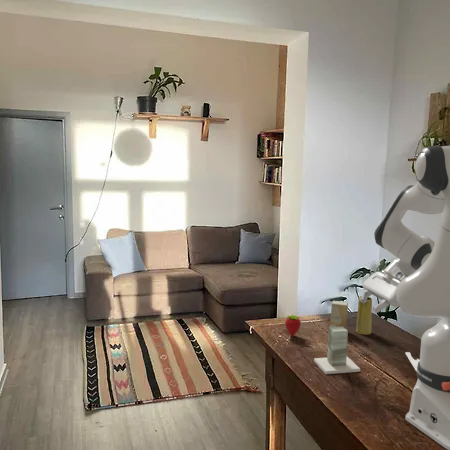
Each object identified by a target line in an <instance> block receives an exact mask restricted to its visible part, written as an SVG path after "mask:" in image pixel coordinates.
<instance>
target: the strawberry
mask: <svg viewBox="0 0 450 450" xmlns="http://www.w3.org/2000/svg"><path fill="white" fill-rule="evenodd" d="M301 325H302V324H301V317H299V316H297V315H295V313H293V314H291V315H288V316H287V317H286V319H285V328H286V330H287V332H288V333H289V335H290V337H292V338H293V337H294V336H296V334H297V332H299V330H300V327H301Z"/></svg>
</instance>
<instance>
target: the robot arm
mask: <svg viewBox="0 0 450 450" xmlns="http://www.w3.org/2000/svg"><path fill="white" fill-rule="evenodd" d="M414 172H415V174H414V175H415V178H416V181H417V182H415V185H413V184H412V185H411V184H410V185H408V186H407V187H405V188H403V190H402V191H401V192H400V193H399V194H398V195H397V197H396V199H395V200H394V201H393V203H392V205H391V207H390V208H389V210H388V211H387V213H386V215H385V216H384V218H383V220H382V221H381V222H380V224H378V226H377V227H376V229H375V230H374V241H375V244H376V245H378V246H380V247H381V248H383V249H385V250H386V251H388V252H389V253H390V254H392V255H393V256H395V257H396V258H395V259H394V260H392V261H391V262H390V263H389V264H388V265H387V266H386V267H385V268H384V269H383V270H380V271H375V272H374V273H372V274H371V275H370V276H369V277H367V278H366V279H365V281H363V282H362V284H361V286H362V287H361V288H363V289H364V291H363V293H362V295H361V296H362V297H361V298H360V299H359V300H360V301H361V302H362V303H363V304H365V303H366V302H367V298H368V297H371V296H372V295H373V296H374V297H375V298H378V299H379V300H381V302H379V303H378V304H375V305H373V306H372V310H373V311H375V312H376V313H379V312H381V310H383V309H385V308H388V307H389V306H390V305H391V306H392V307H393V308H400V309H401V310H402V311H403V313H404V314H406V315H409V316H413V317H419V318H423V319H424V318H425V319H426V318H427V319H429V318H430V319H432V318H433V319H435V318H437V319H438V318H439V319H440V320H438V322H437V323H436V324H435V325H434V326H432V327H430V328H428V329H427V330H426V331H425V332H423V334H422V336H421V339H420V349H419V351H420V354H419V360H420V361H419V362H418V367H417V372H416V376H417V380H416V383H415V385H414V387H413V389H412V394H411V398H410V399H411V400H410V405H409V411H408V412H407V413H406V414H405V418H404V419H405V420H406V421H407V422H408V423H410V424H411V425H412V426H413V427H415V428H417V429H418V430H419V431H420V432H422V433H424V434H425V435H426V436H428V437H429V438H430V439H431V440H432V441H433V440H434V441H435V442H436V443H437V444H439V445H440V446H442V447H443V448H445V449H446V450H450V145H443V146H441V145H438V144H437V145H431V146H427V147H423V149H422V150H420V152H419V153H418V155H417V158H416V160H415V165H414ZM407 211H412V212H413V211H414V212H417V213H420V214H422V215H423V214H425V215H437V214H441V213H442V214H441V217H440V221H439V226H438V229H437V234H436V238H435V241H433V239H432V238H430V237H428V236H426V235H419V234H417V233H416V232H414V231H413V230H412V229H410V228H408V227H407V226H405V225H404V224H403V222H402V219H403V218H404V216H405V214H406V213H407Z"/></svg>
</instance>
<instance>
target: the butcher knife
mask: <svg viewBox="0 0 450 450" xmlns="http://www.w3.org/2000/svg"><path fill="white" fill-rule="evenodd" d="M405 355H406V357H407V358H408V360H409V362H410V363H411V365H412V367H413V368H414V370H415V372H416V373H417V367H418V362H419V361H420V358H416V359H414V357H412V354H411V352H409V351H407V352H405Z"/></svg>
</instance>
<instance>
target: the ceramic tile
mask: <svg viewBox="0 0 450 450" xmlns="http://www.w3.org/2000/svg"><path fill="white" fill-rule="evenodd" d="M313 359H314V360H313V362H314V363H315V364H316V365H317V366H318V368H319V369H320V370H321V371H322V372H323V373H324V374H325V375H333V374H334V375H335V374H347V373H357V372H361V368H360V367H359V366H358V365H357V364H356V363H355V362H354V361H353V360H352V359H351V358H350V357H348V356H347V359H346V366H331V365H330V364H329V363H328V362H327V357H315V358H313Z"/></svg>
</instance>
